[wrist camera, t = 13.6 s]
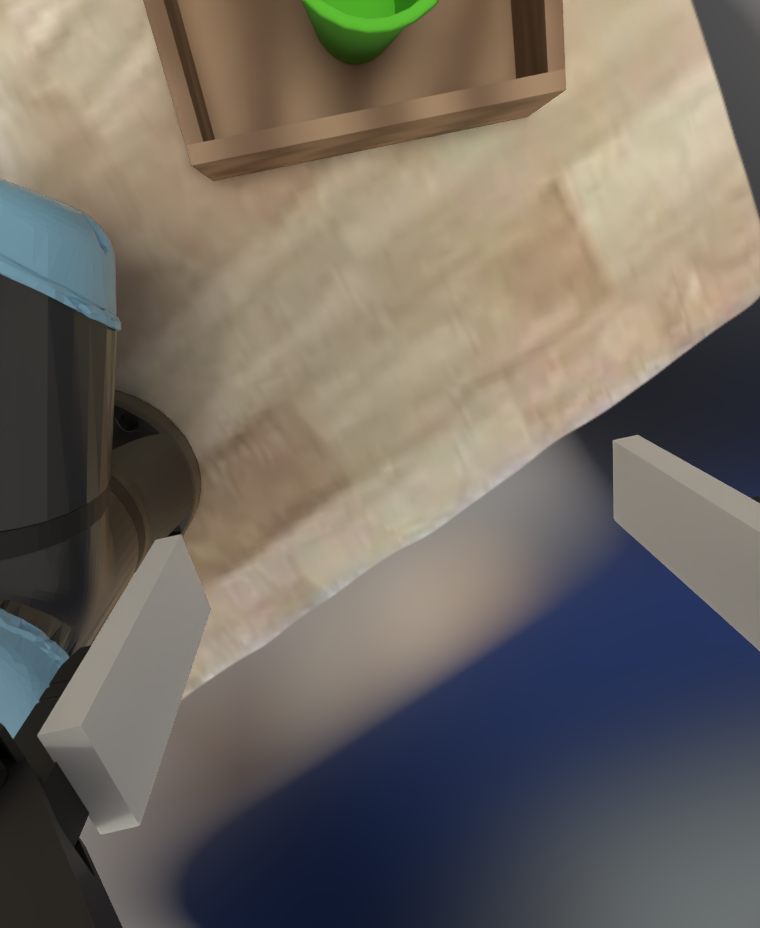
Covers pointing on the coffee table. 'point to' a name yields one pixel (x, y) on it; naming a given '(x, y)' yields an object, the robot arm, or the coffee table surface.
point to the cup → (362, 24)
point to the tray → (347, 78)
